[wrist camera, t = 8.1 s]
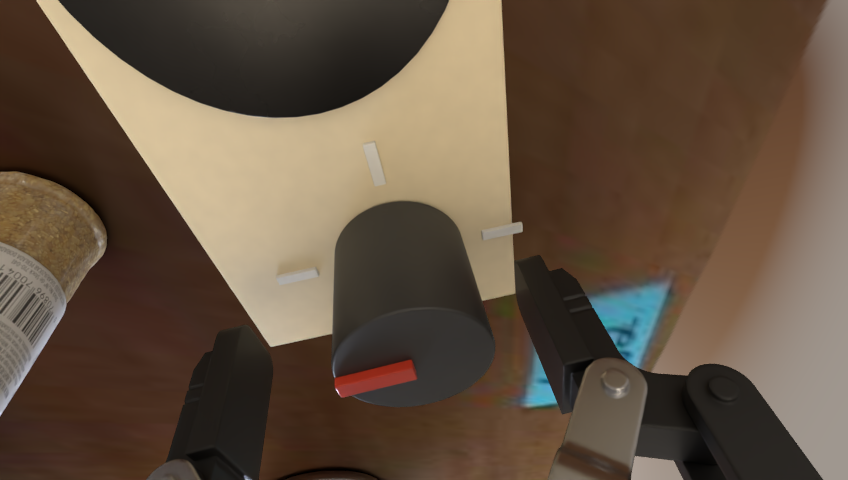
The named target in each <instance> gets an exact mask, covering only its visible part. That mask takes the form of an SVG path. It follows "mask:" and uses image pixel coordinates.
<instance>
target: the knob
mask: <svg viewBox="0 0 848 480" xmlns="http://www.w3.org/2000/svg"><path fill="white" fill-rule="evenodd" d="M494 354H495V340H494V337H493V334H492V330H491V327H490V324H489V321H488V318H487V315H486V312H485V308H484V305H483V302H482V299H481V296H480V293H479V290H478V286H477V283H476V280H475V277H474V274H473V271H472V268H471V264H470V261H469V258H468V255H467V252H466V249H465V246H464V242H463V239H462V236H461V233H460V231H459V229H458V227H457V226H456V224H455V223H454V221H453V220H452V219H451V218H450V217H449V216H447V215H446V214H445V213H443V212H442V211H440V210H438V209H436V208H434V207H432V206H429V205H426V204H422V203H418V202H411V201H398V202H390V203H385V204H381V205H378V206H374V207H372V208H370V209H368V210H366V211H364V212H362V213H360V214H359V215H357V216H356V217H355V218H354V219H352V220H351V221H350V222H349V223H348V224H347V225H346V227H345V228H344V229H343V231H342V232H341V234H340V236H339V237H338V240H337V243H336V246H335V255H334V290H333V325H332V360H331V364H332V372H333V375H334V377H335V389H336V390H337V392H338V393H339V395H340V396H341V397H346V396H350V395H351V396H353V397H355V398H357V399H359V400H362V401H364V402H367V403H371V404H375V405H381V406H389V407H410V406H419V405H425V404H430V403H434V402H437V401H441V400H444V399H446V398H449V397H451V396H454V395H456V394H458V393H460V392H462V391H464V390H465V389H467V388H469V387H470V386H472V385H473V384H474V383H475V382H477V381H478V380H479V379H480V378H481V377H482V376H483V375H484V374H485V373H486V371H487V370H488V369H489V367H490V365H491V363H492V361H493V358H494Z"/></svg>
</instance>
